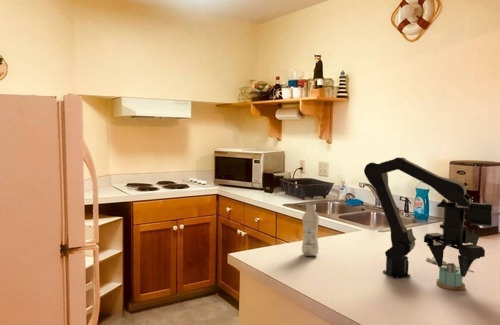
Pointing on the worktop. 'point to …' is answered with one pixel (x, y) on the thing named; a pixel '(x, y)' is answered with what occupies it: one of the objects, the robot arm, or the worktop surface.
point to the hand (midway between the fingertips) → (451, 271)
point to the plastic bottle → (310, 231)
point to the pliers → (443, 263)
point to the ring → (450, 277)
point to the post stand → (451, 268)
